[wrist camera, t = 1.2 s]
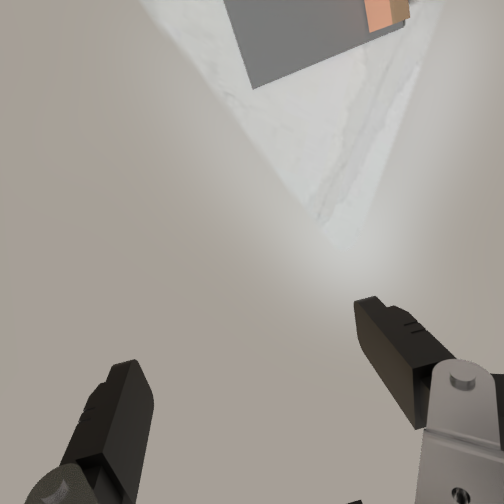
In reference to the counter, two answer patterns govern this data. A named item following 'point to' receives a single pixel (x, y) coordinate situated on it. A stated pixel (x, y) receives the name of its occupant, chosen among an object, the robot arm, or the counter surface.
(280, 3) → the card
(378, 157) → the counter surface
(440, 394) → the robot arm
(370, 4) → the hinged fence section
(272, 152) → the counter surface
